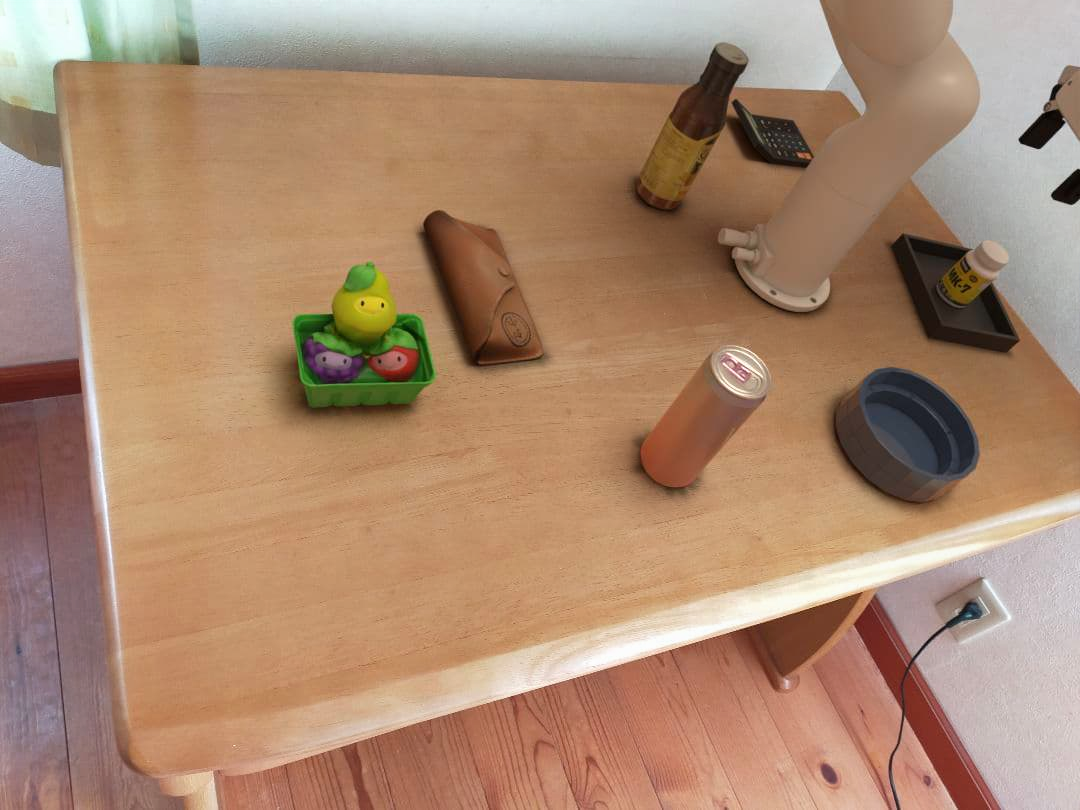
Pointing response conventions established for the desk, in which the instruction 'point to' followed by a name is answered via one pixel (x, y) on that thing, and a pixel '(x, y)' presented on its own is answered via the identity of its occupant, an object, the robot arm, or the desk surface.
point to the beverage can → (705, 415)
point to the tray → (967, 325)
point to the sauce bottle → (691, 130)
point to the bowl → (907, 434)
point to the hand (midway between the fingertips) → (1044, 172)
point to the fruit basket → (362, 347)
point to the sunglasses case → (483, 291)
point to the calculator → (775, 138)
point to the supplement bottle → (972, 274)
